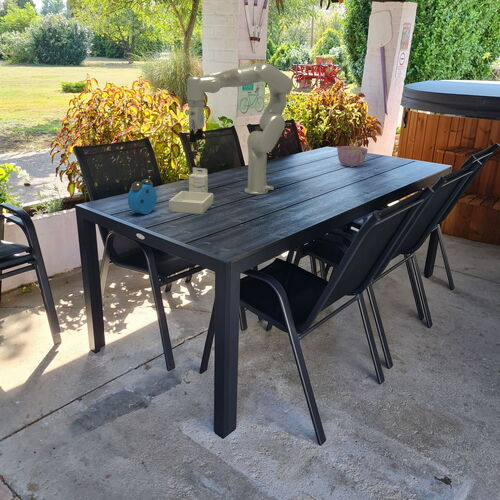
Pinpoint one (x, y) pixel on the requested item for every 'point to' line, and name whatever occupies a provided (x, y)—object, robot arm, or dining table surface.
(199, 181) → the ink cartridge box
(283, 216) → the dining table surface
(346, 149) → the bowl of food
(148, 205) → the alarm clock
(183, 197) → the cream square tray
